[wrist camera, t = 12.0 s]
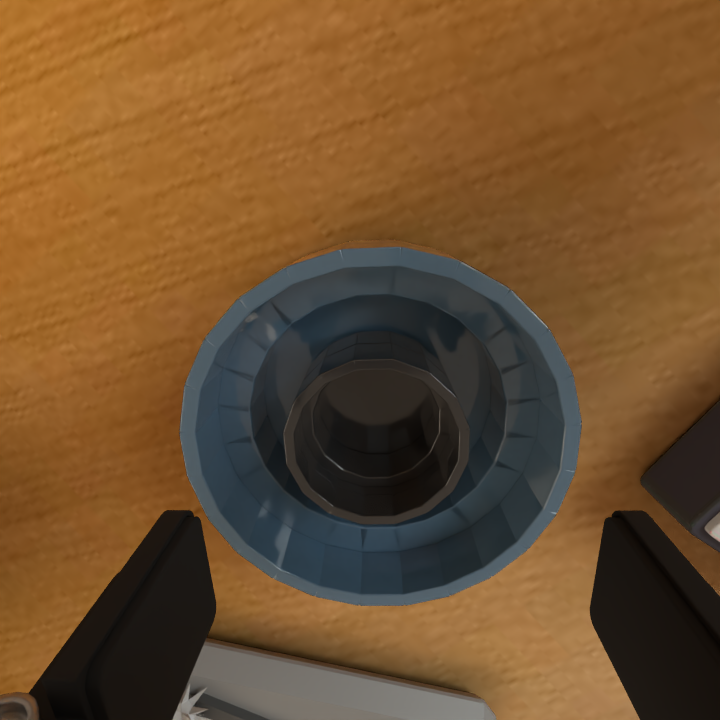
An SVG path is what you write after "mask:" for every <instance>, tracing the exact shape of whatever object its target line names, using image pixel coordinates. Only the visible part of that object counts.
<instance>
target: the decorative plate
mask: <svg viewBox="0 0 720 720" xmlns="http://www.w3.org/2000/svg"><path fill="white" fill-rule="evenodd" d="M173 720H496V716H495V714H494V713H493V711H492V710H491V709H490V708H489V706H488V705H487V704H486V702H485V701H484V700H483V699H481V698H480V697H478V696H477V695H475V694H472V693H467V692H462V691H458V690H453V689H448V688H443V687H439V686H434V685H429V684H424V683H419V682H415V681H410V680H405V679H400V678H396V677H391V676H386V675H381V674H377V673H372V672H367V671H362V670H357V669H353V668H348V667H343V666H338V665H334V664H329V663H324V662H319V661H315V660H310V659H305V658H300V657H295V656H291V655H286V654H281V653H276V652H272V651H267V650H262V649H257V648H252V647H248V646H243V645H238V644H233V643H229V642H224V641H219V640H214V639H210V638H206V640H205V642H204V645H203V647H202V650H201V652H200V655H199V657H198V659H197V662H196V664H195V667H194V669H193V671H192V674H191V676H190V679H189V681H188V683H187V686H186V688H185V691H184V693H183V695H182V698H181V700H180V703H179V705H178V708H177V710H176V712H175V715H174V717H173Z"/></svg>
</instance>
